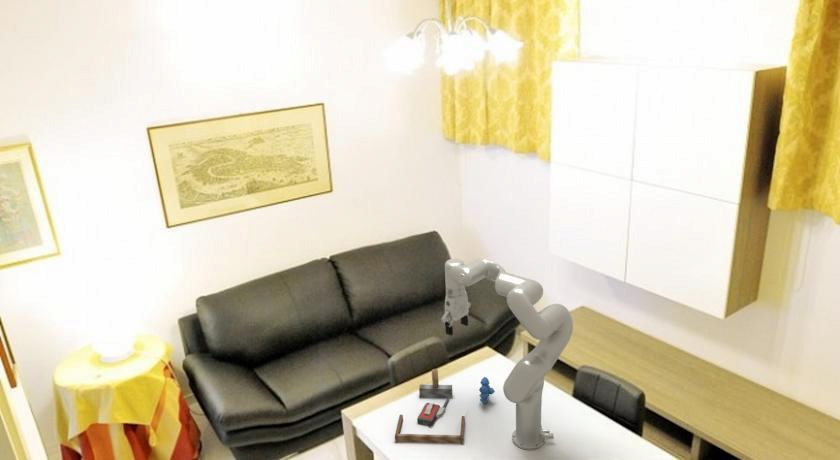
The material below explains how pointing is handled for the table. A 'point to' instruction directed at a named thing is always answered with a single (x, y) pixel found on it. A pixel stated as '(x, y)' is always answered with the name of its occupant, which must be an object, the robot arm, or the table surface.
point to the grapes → (485, 390)
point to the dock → (429, 438)
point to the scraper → (435, 389)
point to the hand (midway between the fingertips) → (457, 329)
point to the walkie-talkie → (431, 413)
